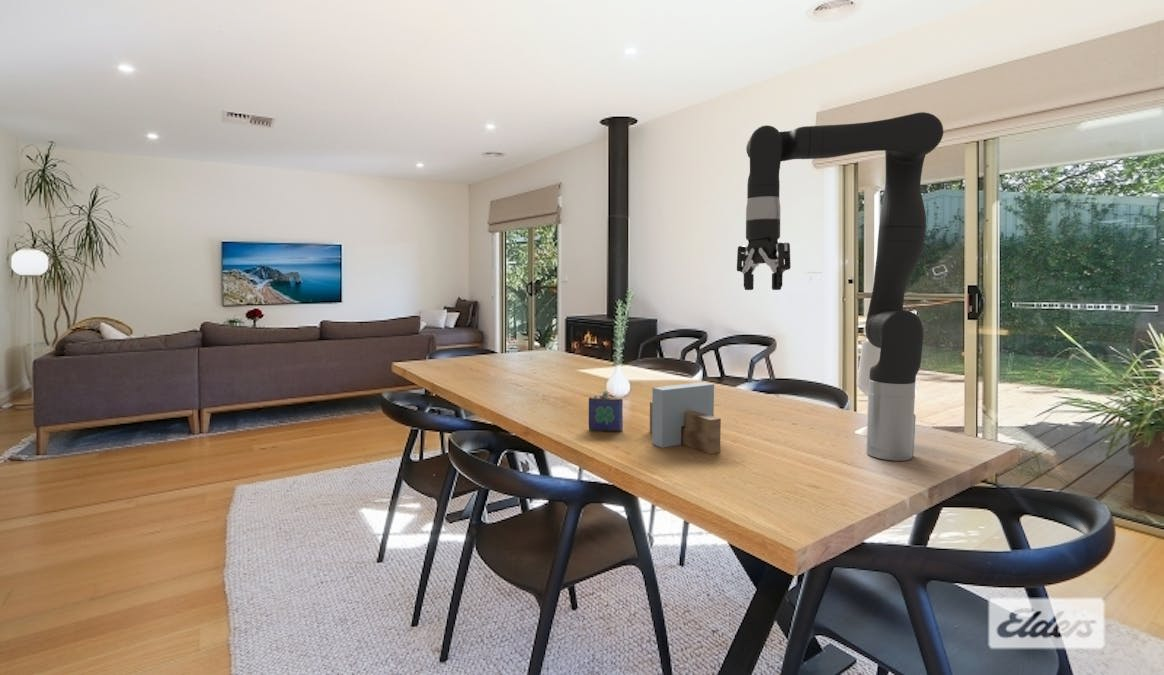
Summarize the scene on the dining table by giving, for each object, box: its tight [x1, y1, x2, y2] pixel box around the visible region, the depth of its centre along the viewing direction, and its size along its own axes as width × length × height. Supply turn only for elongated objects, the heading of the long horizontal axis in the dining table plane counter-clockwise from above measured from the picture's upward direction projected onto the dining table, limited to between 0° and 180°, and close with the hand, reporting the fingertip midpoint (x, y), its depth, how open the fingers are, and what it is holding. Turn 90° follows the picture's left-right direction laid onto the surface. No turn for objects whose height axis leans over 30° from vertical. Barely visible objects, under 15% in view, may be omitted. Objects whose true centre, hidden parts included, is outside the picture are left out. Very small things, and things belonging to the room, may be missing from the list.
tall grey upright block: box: [651, 381, 715, 449], centre depth 148 cm, size 4×16×14 cm, turn 119°
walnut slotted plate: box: [649, 401, 722, 455], centre depth 148 cm, size 24×3×8 cm, turn 29°
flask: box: [588, 391, 624, 433], centre depth 159 cm, size 9×3×11 cm, turn 80°
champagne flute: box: [854, 340, 881, 437], centre depth 154 cm, size 7×7×24 cm
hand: (762, 289), depth 137 cm, fingers open, 8 cm apart
